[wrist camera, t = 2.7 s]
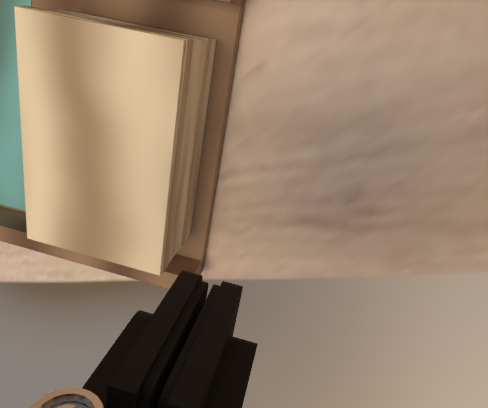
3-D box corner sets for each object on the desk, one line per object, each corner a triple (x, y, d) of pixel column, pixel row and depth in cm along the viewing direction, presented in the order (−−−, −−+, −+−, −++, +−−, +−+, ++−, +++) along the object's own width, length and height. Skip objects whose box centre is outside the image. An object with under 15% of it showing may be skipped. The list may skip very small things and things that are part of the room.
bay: (247, -19, 21) (234, -27, 18) (203, 269, 29) (188, 294, 26) (-115, -84, 24) (-173, -99, 21) (-70, 194, 31) (-109, 209, 29)
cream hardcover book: (217, 38, 22) (185, 39, 17) (190, 235, 27) (160, 276, 22) (78, 10, 23) (13, 4, 18) (77, 205, 28) (26, 238, 23)
